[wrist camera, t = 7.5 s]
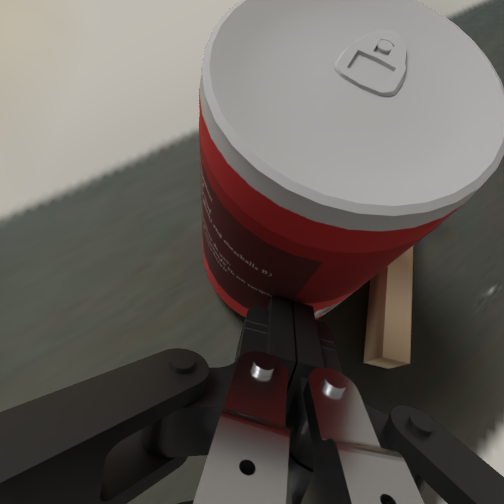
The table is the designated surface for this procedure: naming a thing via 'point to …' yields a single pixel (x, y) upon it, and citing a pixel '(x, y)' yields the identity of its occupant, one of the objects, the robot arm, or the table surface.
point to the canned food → (335, 142)
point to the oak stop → (390, 314)
